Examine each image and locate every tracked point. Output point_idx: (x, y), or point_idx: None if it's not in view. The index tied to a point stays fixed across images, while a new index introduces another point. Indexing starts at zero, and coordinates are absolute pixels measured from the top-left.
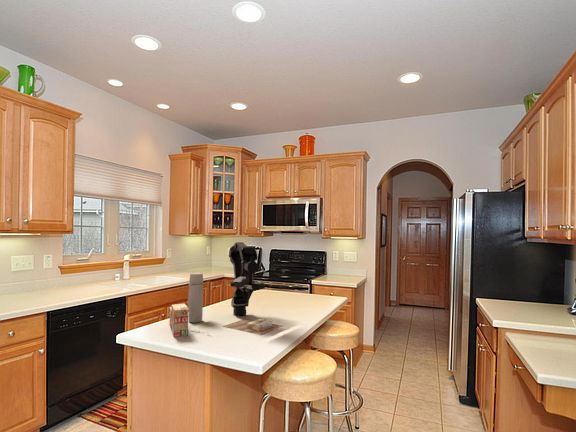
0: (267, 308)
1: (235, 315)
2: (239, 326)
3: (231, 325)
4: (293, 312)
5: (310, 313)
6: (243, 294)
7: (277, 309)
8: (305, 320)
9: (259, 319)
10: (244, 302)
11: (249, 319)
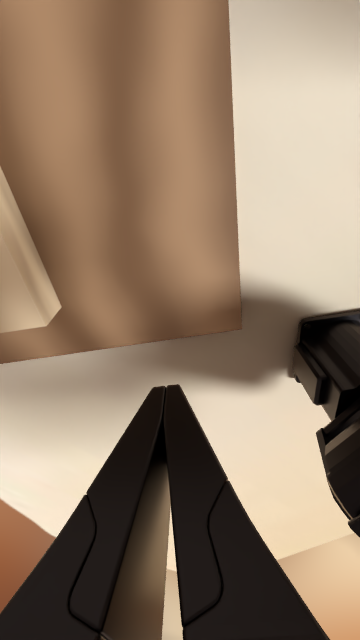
0: (310, 502)
1: (358, 327)
2: (90, 124)
3: (174, 82)
4: None
5: None
6: (238, 503)
7: (262, 512)
8: (41, 486)
9: (27, 310)
10: (343, 438)
11: (205, 329)
